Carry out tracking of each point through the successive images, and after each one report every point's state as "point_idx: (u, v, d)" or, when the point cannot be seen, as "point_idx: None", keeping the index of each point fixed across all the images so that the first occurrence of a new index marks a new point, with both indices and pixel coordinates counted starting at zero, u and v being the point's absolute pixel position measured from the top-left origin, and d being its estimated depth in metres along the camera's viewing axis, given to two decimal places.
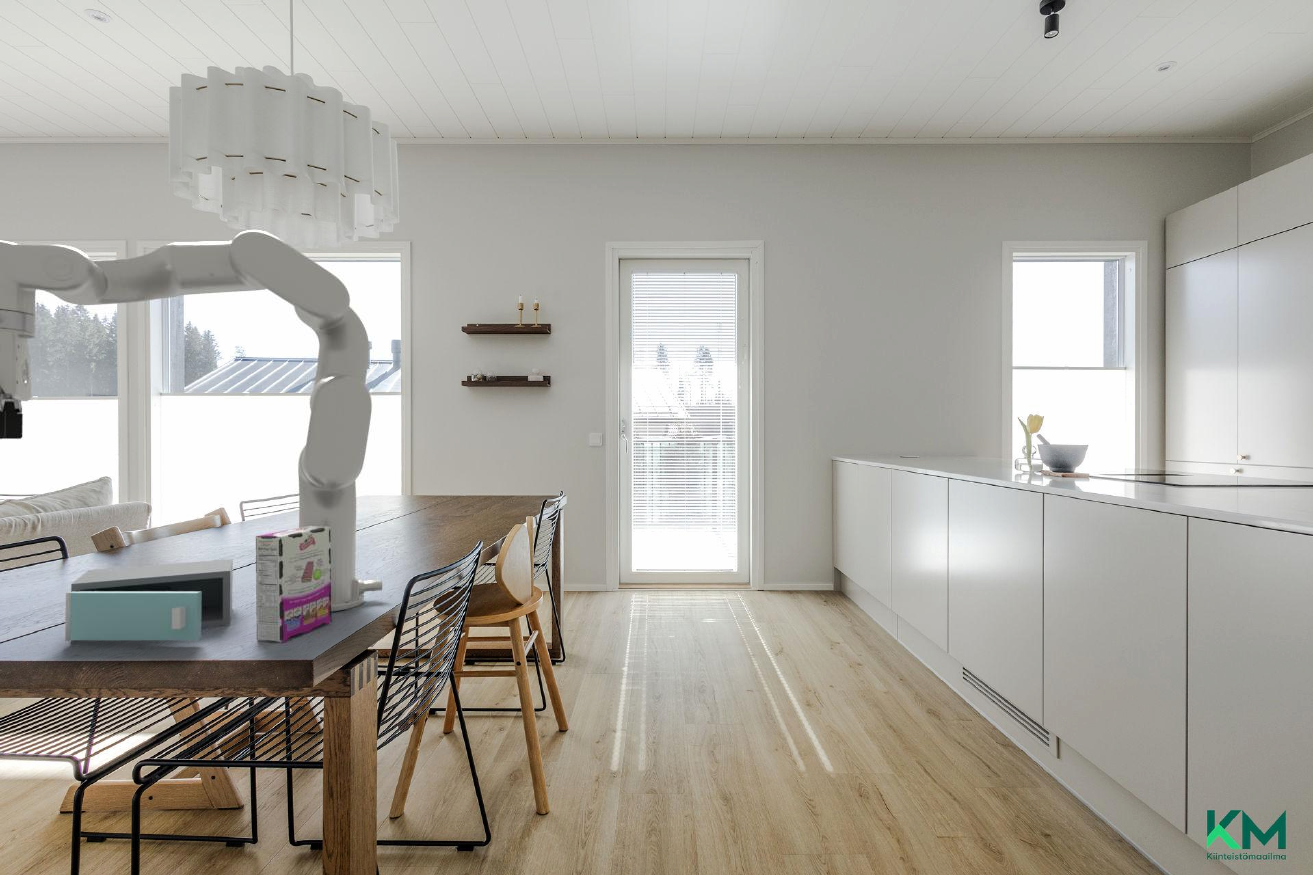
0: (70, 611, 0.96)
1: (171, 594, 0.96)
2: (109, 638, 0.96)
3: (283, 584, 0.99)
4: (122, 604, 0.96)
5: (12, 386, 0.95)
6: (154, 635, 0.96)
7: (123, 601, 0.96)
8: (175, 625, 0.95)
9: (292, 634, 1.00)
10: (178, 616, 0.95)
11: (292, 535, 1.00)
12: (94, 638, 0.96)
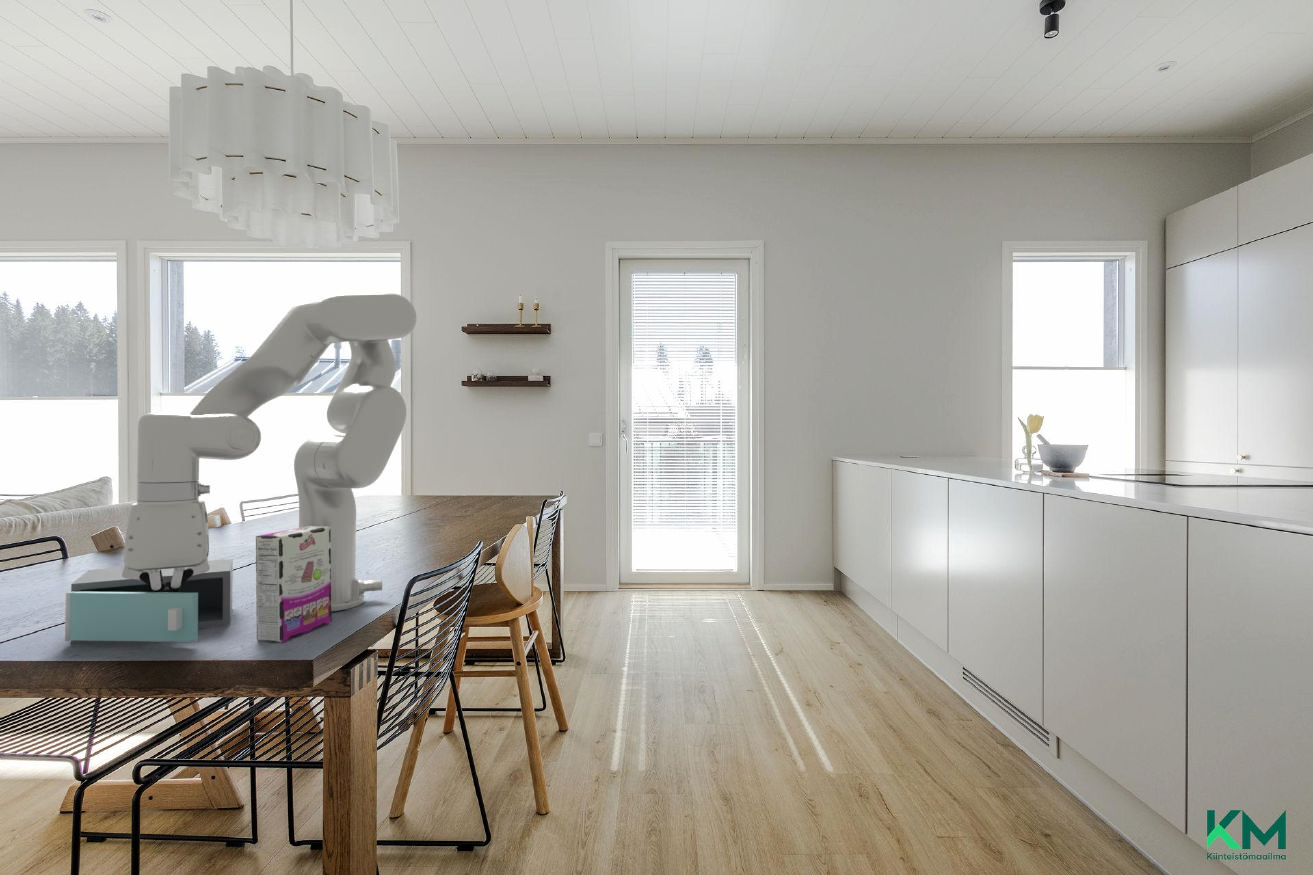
0: (69, 611, 0.96)
1: (168, 595, 0.96)
2: (107, 638, 0.96)
3: (283, 584, 0.99)
4: (120, 605, 0.96)
5: None
6: (151, 636, 0.96)
7: (121, 602, 0.96)
8: (171, 626, 0.94)
9: (292, 634, 1.00)
10: (174, 617, 0.94)
11: (292, 535, 1.00)
12: (93, 638, 0.96)
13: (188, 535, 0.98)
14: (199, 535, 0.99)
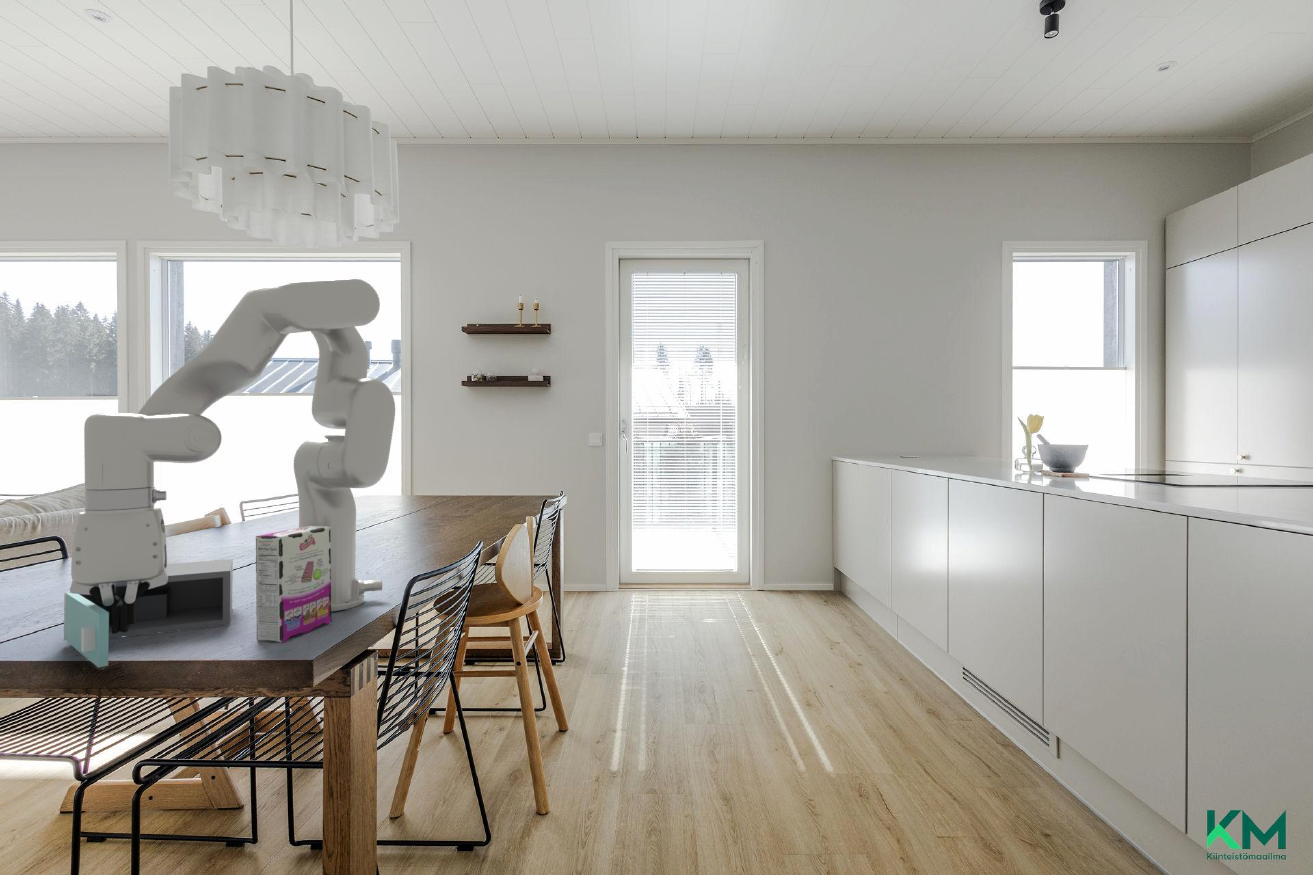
0: (65, 610, 0.96)
1: (91, 610, 0.87)
2: (75, 646, 0.92)
3: (283, 584, 0.99)
4: (78, 613, 0.91)
5: None
6: (86, 652, 0.88)
7: (78, 610, 0.91)
8: (82, 647, 0.85)
9: (292, 634, 1.00)
10: (83, 637, 0.85)
11: (292, 535, 1.00)
12: (71, 643, 0.94)
13: (142, 546, 0.91)
14: (154, 545, 0.92)
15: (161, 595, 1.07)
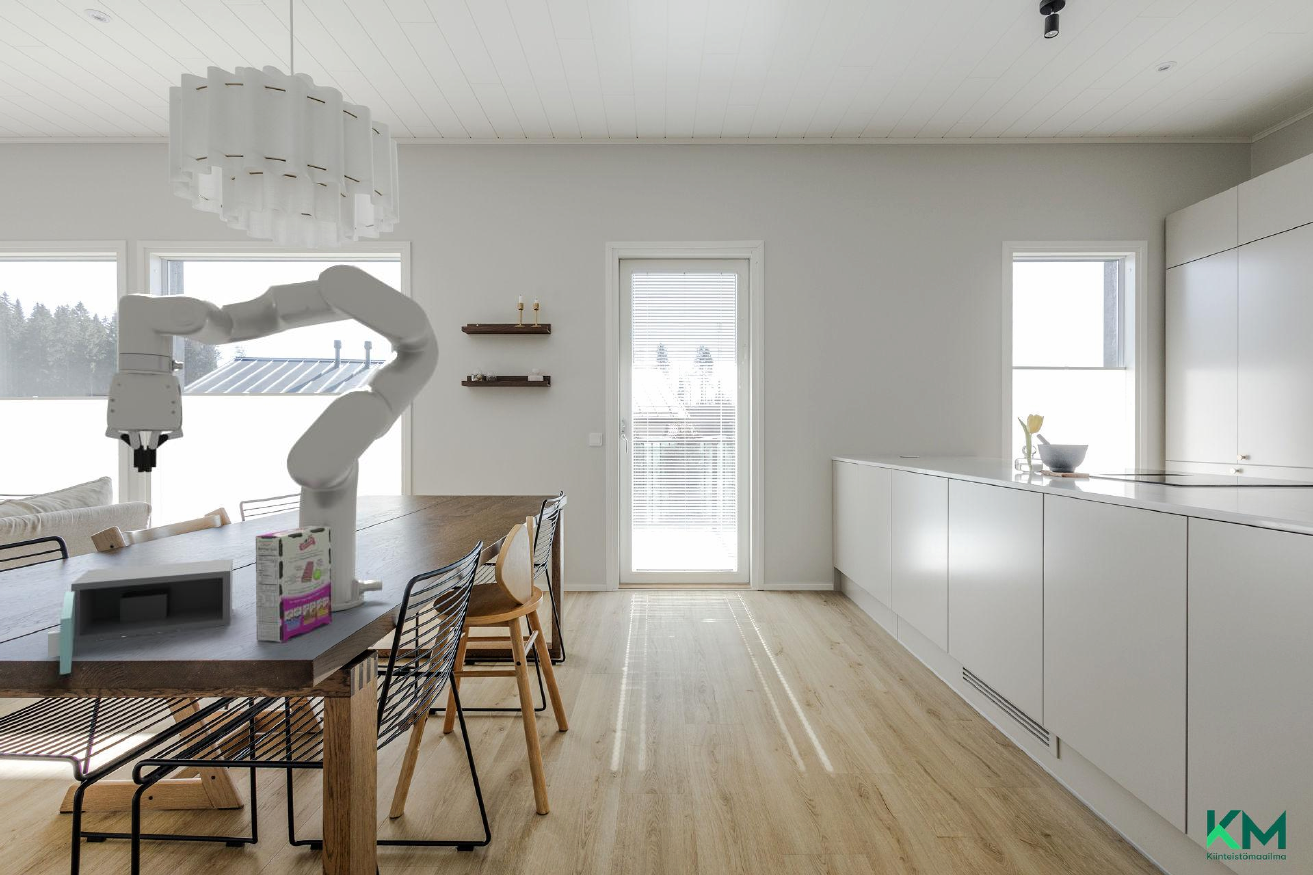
0: None
1: (61, 614, 0.85)
2: None
3: (283, 584, 0.99)
4: None
5: None
6: None
7: None
8: (48, 652, 0.83)
9: (292, 634, 1.00)
10: (48, 642, 0.83)
11: (292, 535, 1.00)
12: None
13: (163, 402, 1.12)
14: (173, 403, 1.13)
15: (161, 595, 1.07)
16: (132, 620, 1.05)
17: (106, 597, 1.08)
